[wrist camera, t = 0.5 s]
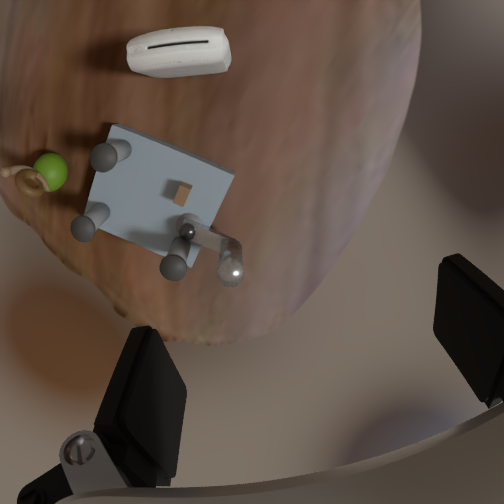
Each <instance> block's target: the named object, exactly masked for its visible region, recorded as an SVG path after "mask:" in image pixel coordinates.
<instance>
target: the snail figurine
mask: <svg viewBox="0 0 504 504" xmlns="http://www.w3.org/2000/svg"><path fill="white" fill-rule="evenodd" d="M0 170H1V173H0V174H1V176H2V177H5V178H6V177H9V176H10V175H16V178H15V183H16V186H17V188H18V190H19V191H20V192H21V193H22V194H24V195H25V196H27V197H30V198H38V197H40V196H41V195H42V194H43V192H44V191H45V192H52V191H55V190H57V189H59V188H60V187H61V186H62V185H63V184H64V182H65V180H66V178H67V174H68V168H67V164H66V162H65V160H64V159H63V158H62V157H61V156H60V155H58V154H56V153H47V154H44V155H42V156H41V157H39V158H38V159H37V161H36V162H35V164H34V166H33V168H31V167H29V166H24V165H16V166H11V167H3V168H2V169H0Z"/></svg>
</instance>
